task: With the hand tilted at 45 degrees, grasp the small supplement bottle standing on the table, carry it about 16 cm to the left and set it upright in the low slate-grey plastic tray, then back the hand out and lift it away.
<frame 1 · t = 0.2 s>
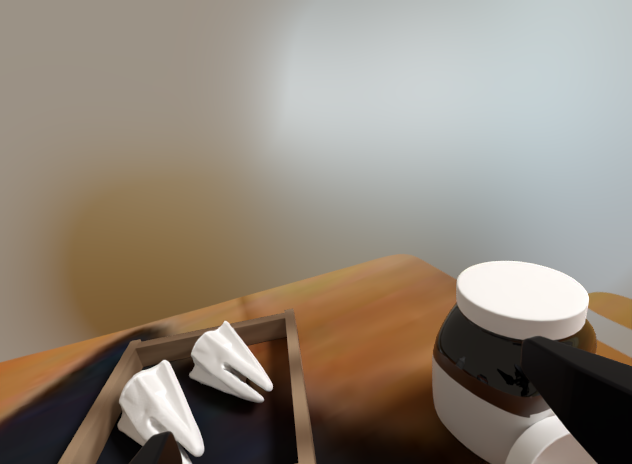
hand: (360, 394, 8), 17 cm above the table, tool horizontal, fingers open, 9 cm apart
salt and pepper shakers: (202, 416, 29), on the table
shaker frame: (204, 413, 29), on the table
spread jar: (524, 452, 22), on the table
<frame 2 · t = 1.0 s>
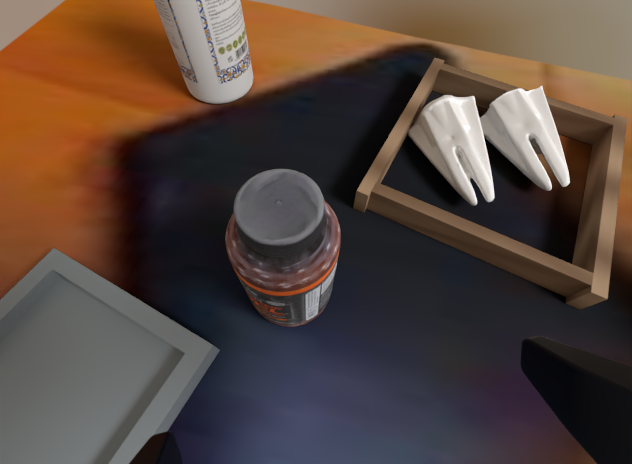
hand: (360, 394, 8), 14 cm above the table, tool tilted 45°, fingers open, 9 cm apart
salt and pepper shakers: (476, 166, 31), on the table, touching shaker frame
tray: (61, 397, 20), on the table
supplement bottle: (291, 289, 24), on the table
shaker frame: (488, 171, 30), on the table
bath foam: (221, 85, 35), on the table
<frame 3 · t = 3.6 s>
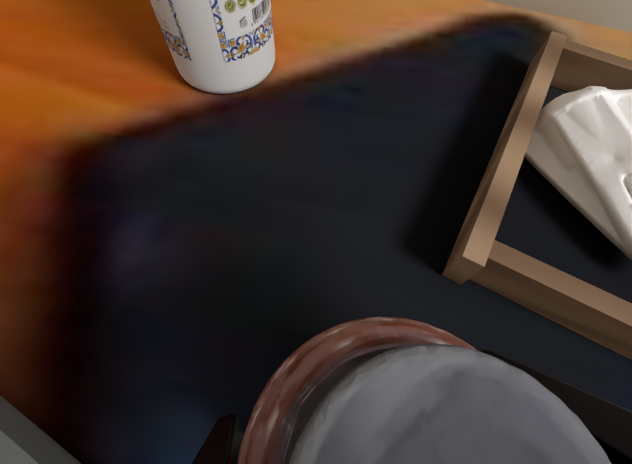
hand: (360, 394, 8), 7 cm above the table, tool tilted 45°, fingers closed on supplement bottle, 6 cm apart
salt and pepper shakers: (625, 198, 20), on the table
supplement bottle: (346, 434, 14), on the table, touching gripper
bath foam: (228, 66, 24), on the table
when the fingers open (8 cm above the table, at t = 7.8 s): supplement bottle stays where it is, resting on tray.
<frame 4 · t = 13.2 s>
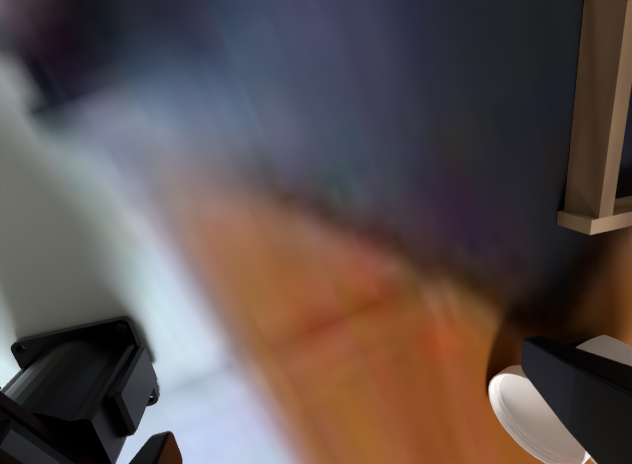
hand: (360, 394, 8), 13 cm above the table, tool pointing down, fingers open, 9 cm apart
spread jar: (545, 375, 28), on the table
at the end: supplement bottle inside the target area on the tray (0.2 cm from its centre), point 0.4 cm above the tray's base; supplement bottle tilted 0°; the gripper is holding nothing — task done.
